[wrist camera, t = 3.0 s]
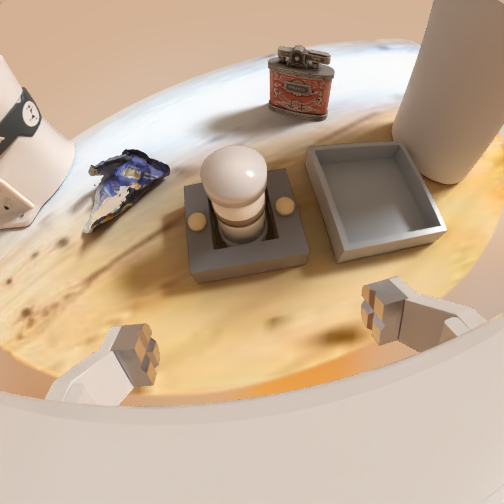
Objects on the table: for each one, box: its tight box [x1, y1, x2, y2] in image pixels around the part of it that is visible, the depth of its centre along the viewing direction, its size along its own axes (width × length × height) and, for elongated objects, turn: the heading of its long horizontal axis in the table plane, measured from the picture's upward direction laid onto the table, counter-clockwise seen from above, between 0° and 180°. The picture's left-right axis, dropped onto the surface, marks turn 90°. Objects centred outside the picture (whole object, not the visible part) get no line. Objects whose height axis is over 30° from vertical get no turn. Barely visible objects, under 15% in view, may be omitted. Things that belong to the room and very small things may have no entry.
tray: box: [305, 141, 447, 263], centre depth 27 cm, size 12×12×3 cm
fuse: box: [201, 146, 268, 247], centre depth 23 cm, size 5×5×10 cm
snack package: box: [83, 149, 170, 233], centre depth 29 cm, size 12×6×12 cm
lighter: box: [268, 45, 334, 121], centre depth 30 cm, size 8×3×10 cm, turn 71°
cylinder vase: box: [392, 0, 504, 184], centre depth 20 cm, size 12×12×25 cm
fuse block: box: [184, 168, 309, 284], centre depth 26 cm, size 10×9×4 cm
